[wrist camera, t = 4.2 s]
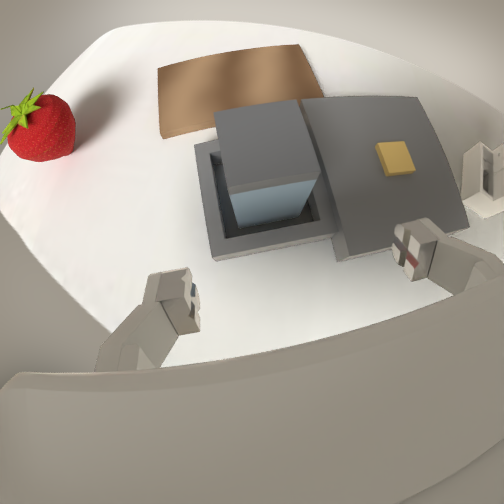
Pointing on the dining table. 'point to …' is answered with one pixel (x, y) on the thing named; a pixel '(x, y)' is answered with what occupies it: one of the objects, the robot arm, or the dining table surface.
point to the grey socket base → (353, 179)
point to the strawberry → (41, 128)
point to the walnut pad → (230, 85)
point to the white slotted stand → (483, 180)
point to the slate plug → (266, 161)
